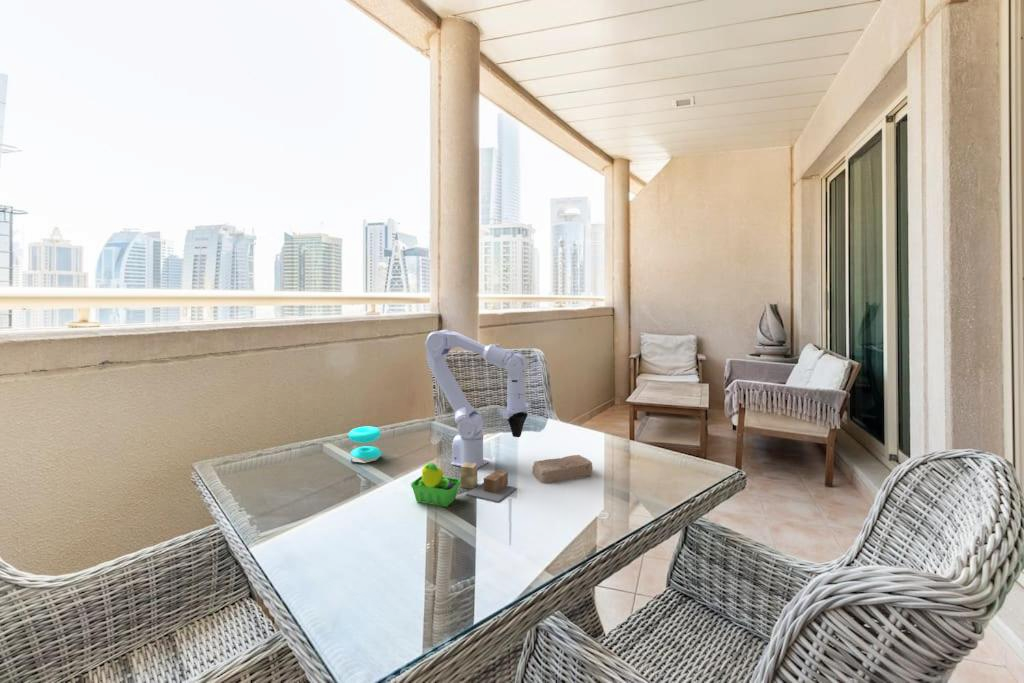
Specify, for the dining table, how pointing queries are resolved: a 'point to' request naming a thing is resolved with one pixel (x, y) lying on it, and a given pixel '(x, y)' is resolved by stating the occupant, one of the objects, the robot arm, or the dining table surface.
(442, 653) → the dining table surface
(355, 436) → the donuts
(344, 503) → the dining table surface
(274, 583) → the dining table surface
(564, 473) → the brick
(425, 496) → the fruit basket
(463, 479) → the oak block
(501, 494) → the mat
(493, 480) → the walnut block
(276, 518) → the dining table surface
